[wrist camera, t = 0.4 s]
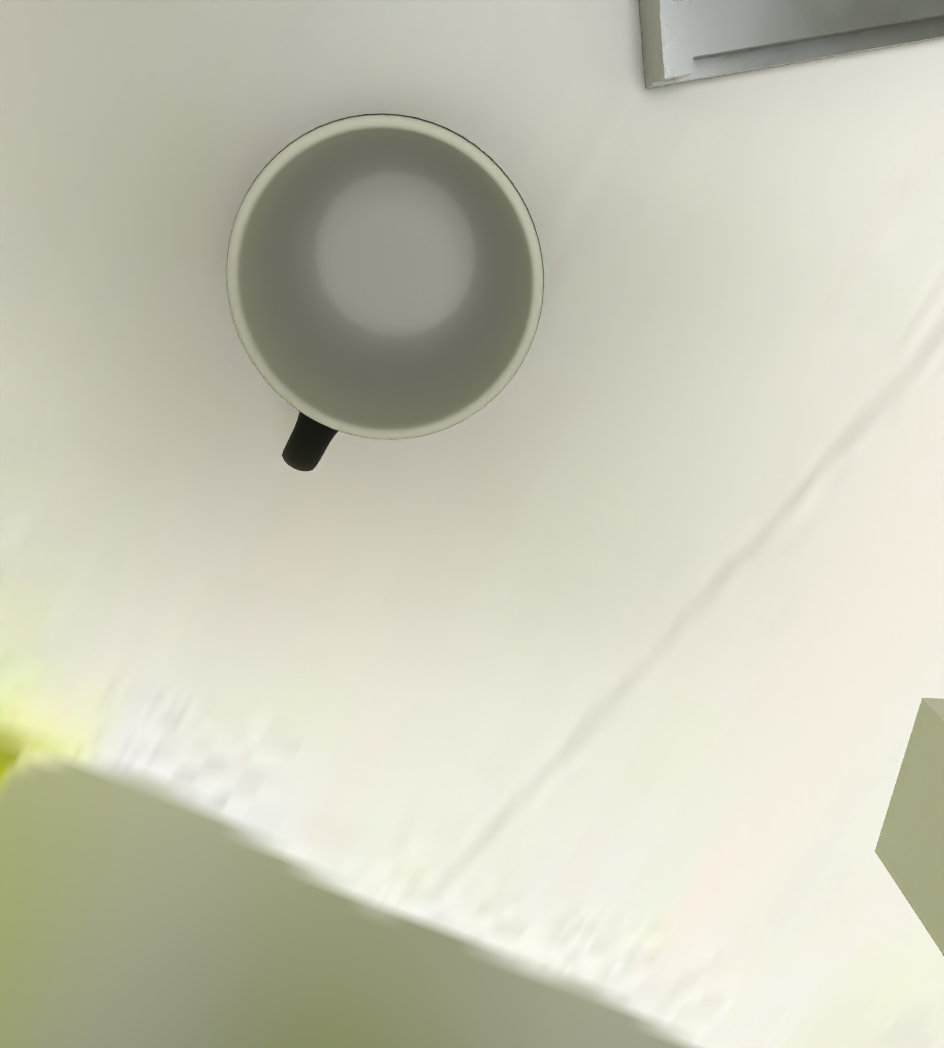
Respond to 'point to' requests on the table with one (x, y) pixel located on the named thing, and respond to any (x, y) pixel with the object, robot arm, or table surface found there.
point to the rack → (772, 33)
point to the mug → (383, 280)
